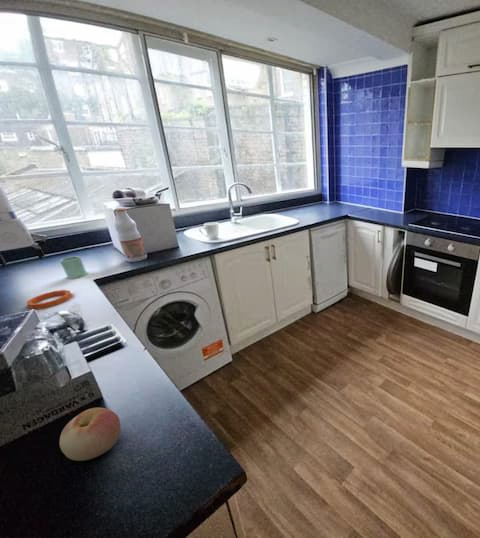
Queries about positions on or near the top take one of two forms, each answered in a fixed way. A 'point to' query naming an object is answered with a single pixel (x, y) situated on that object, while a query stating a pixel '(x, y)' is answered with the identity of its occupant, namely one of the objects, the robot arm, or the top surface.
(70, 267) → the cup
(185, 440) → the top surface
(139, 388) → the top surface
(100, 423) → the apple
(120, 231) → the fruit juice
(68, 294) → the ring
